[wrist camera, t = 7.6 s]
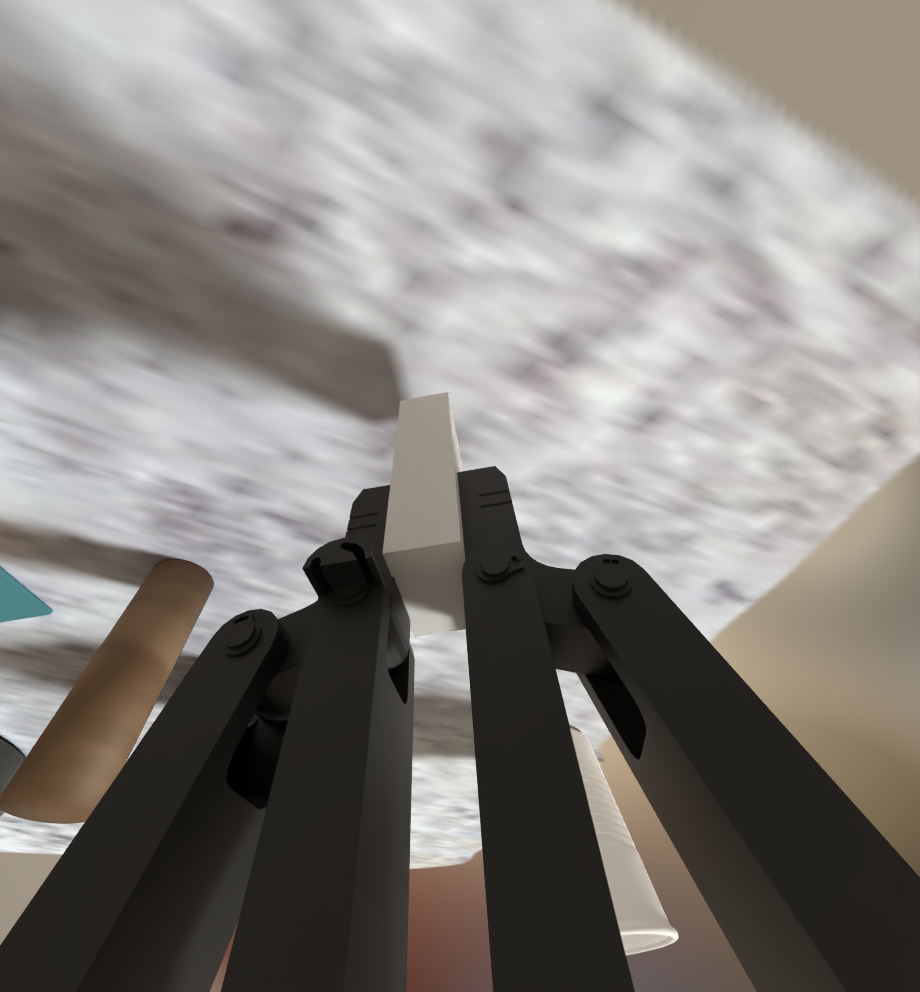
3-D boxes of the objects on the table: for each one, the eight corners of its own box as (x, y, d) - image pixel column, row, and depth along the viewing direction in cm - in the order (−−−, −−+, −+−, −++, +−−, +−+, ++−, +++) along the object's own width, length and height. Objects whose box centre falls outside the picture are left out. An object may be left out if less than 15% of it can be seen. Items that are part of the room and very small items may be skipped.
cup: (525, 779, 37) (555, 967, 29) (456, 742, 32) (466, 957, 24) (633, 743, 34) (703, 942, 25) (575, 695, 29) (637, 925, 20)
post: (172, 601, 21) (42, 827, 14) (139, 564, 19) (-27, 799, 12) (223, 592, 21) (118, 818, 14) (195, 555, 19) (59, 787, 12)
